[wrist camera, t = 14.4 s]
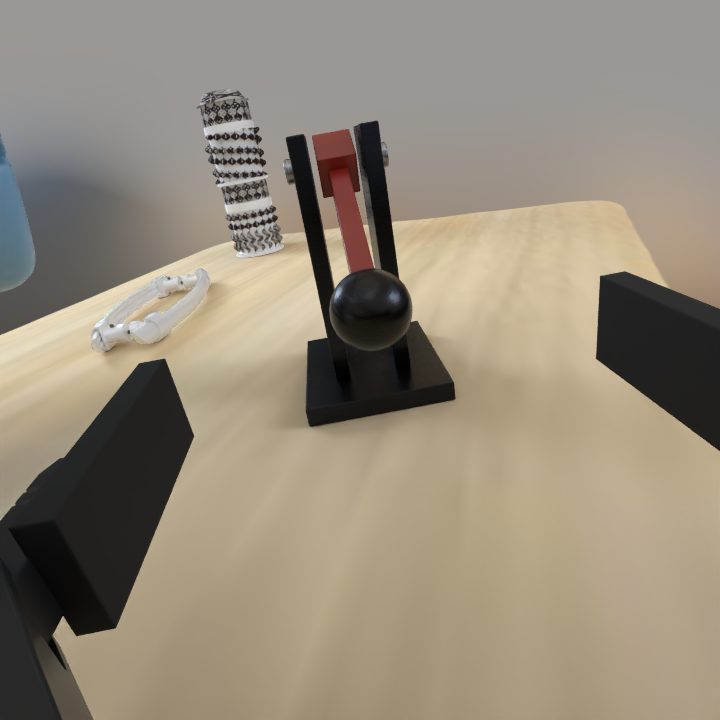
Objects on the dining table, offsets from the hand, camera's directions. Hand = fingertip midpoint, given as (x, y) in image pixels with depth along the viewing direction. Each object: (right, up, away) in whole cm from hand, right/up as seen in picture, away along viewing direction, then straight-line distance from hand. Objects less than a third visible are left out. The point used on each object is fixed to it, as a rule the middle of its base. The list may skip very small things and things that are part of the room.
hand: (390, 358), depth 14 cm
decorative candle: (-18, +19, +70) cm, 75 cm away
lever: (-1, +6, +11) cm, 13 cm away
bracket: (0, -1, +19) cm, 19 cm away
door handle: (-25, +5, +43) cm, 50 cm away
